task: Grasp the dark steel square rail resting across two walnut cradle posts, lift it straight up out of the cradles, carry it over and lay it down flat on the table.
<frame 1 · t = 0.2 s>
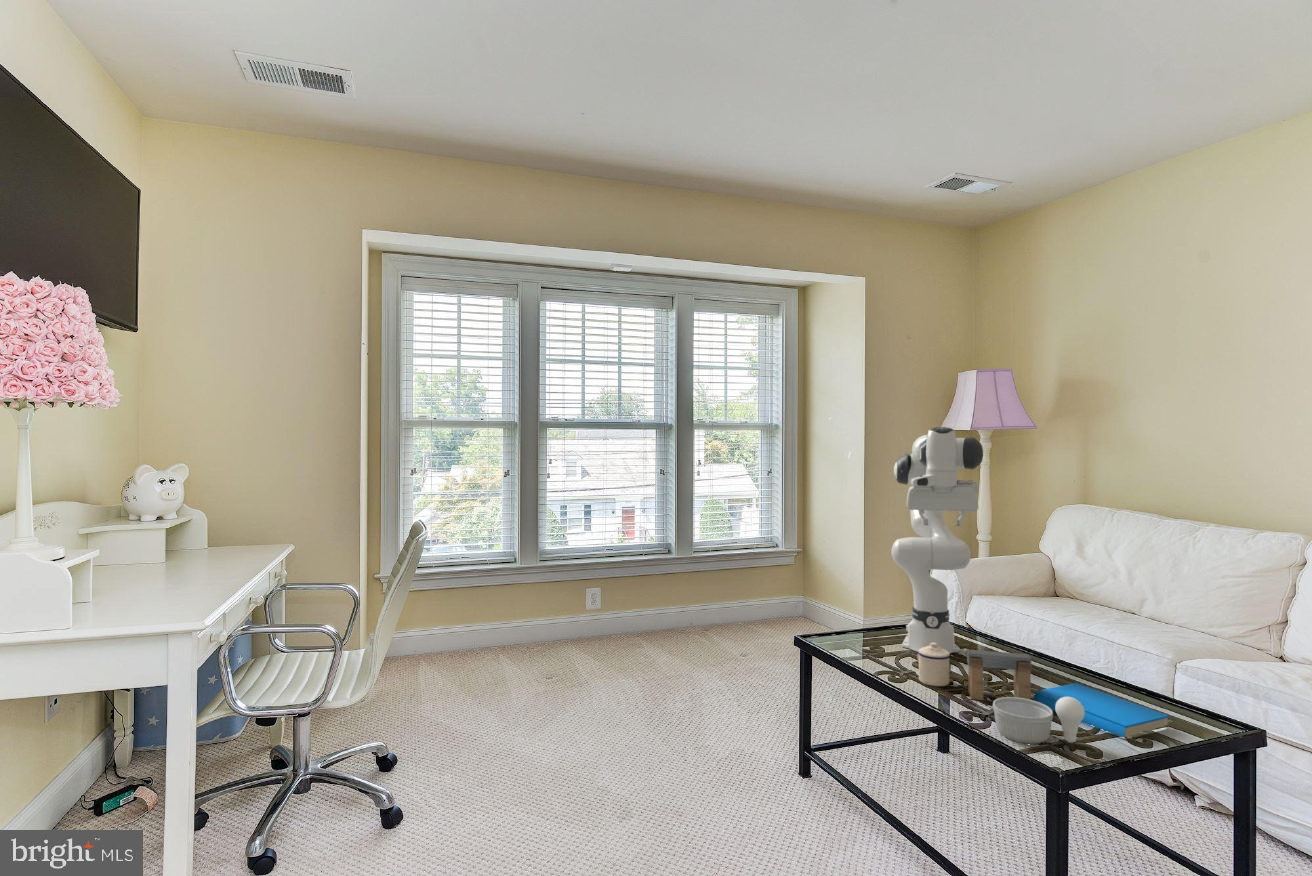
hand: (941, 525, 206), 47 cm above the table, tool pointing down, fingers open, 8 cm apart
ramekin: (1022, 735, 168), on the table
post a: (975, 695, 193), on the table
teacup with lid: (930, 680, 206), on the table
post b: (1022, 700, 190), on the table
book: (1098, 718, 179), on the table
lightbulb: (1069, 743, 163), on the table
rail: (998, 666, 191), point 9 cm above the table, touching post a, post b
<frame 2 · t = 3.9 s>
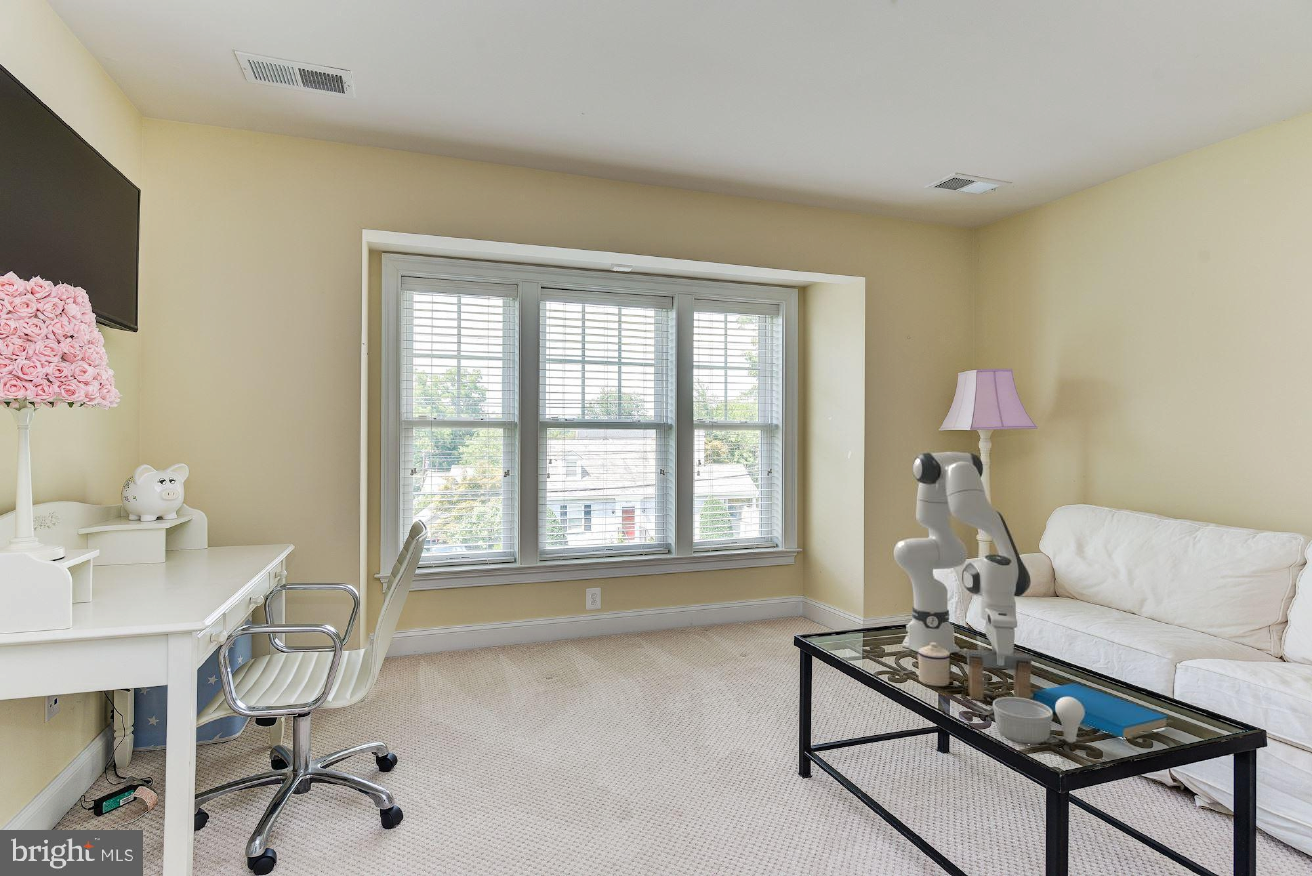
hand: (998, 661, 191), 10 cm above the table, tool pointing down, fingers closed on rail, 4 cm apart
rail: (998, 666, 192), point 9 cm above the table, touching gripper, post a, post b
everything else where it was.
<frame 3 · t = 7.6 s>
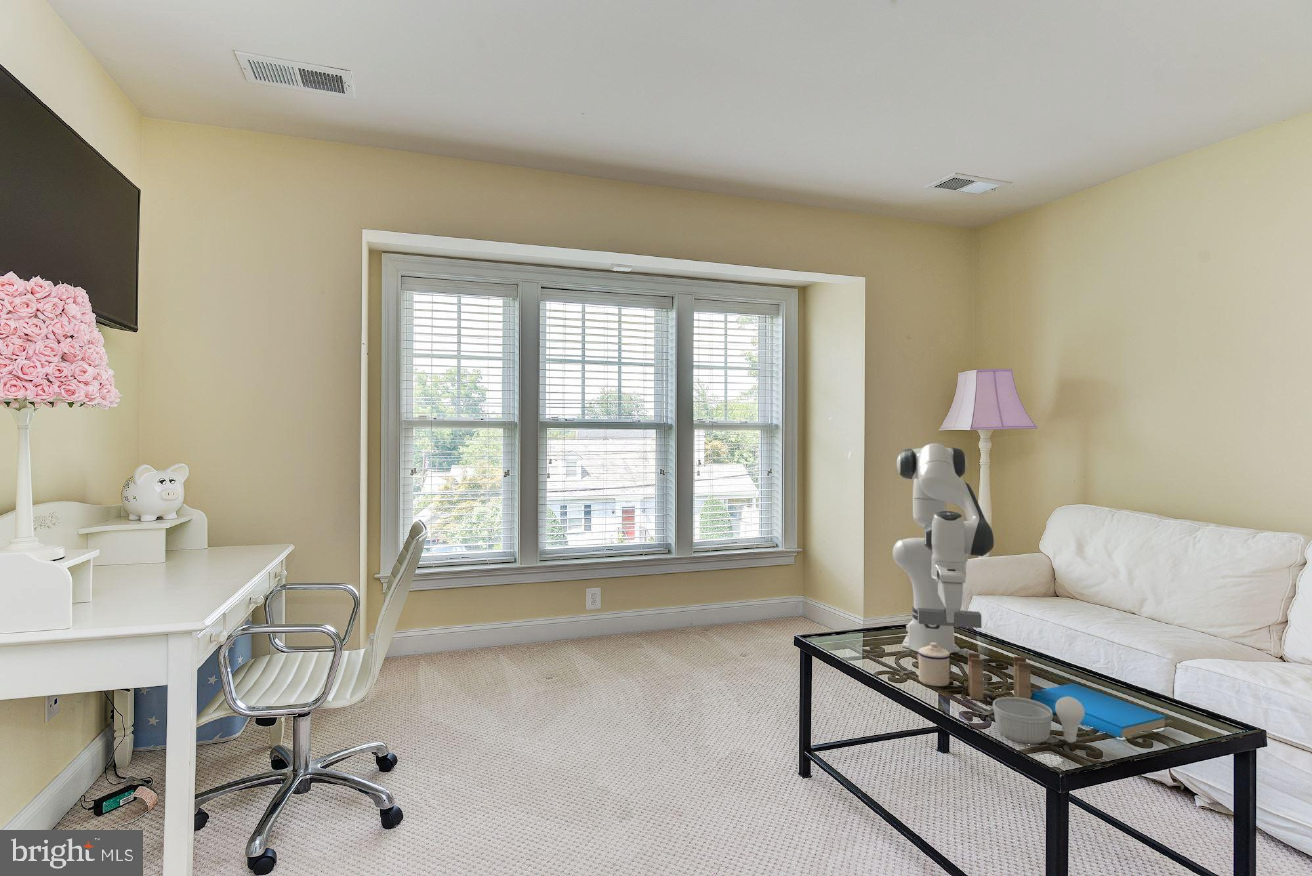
hand: (948, 619, 188), 23 cm above the table, tool pointing down, fingers closed on rail, 4 cm apart
rail: (948, 624, 188), point 22 cm above the table, touching gripper
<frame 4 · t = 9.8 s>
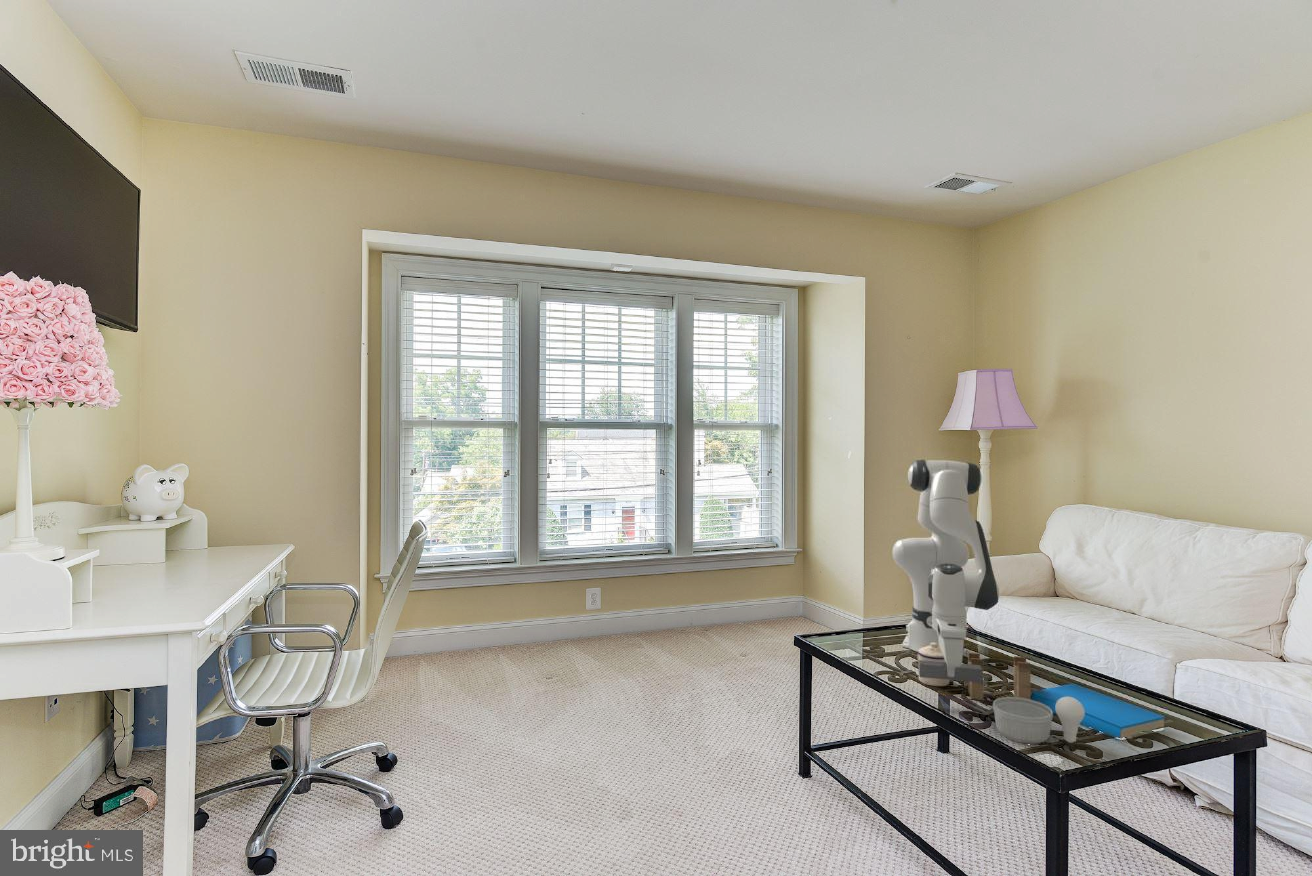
hand: (949, 673, 188), 8 cm above the table, tool pointing down, fingers closed on rail, 4 cm apart
rail: (949, 677, 188), point 7 cm above the table, touching gripper
when the fingers open (3 cm above the table, at t = 11.4 s): rail drops 2 cm, on the table.
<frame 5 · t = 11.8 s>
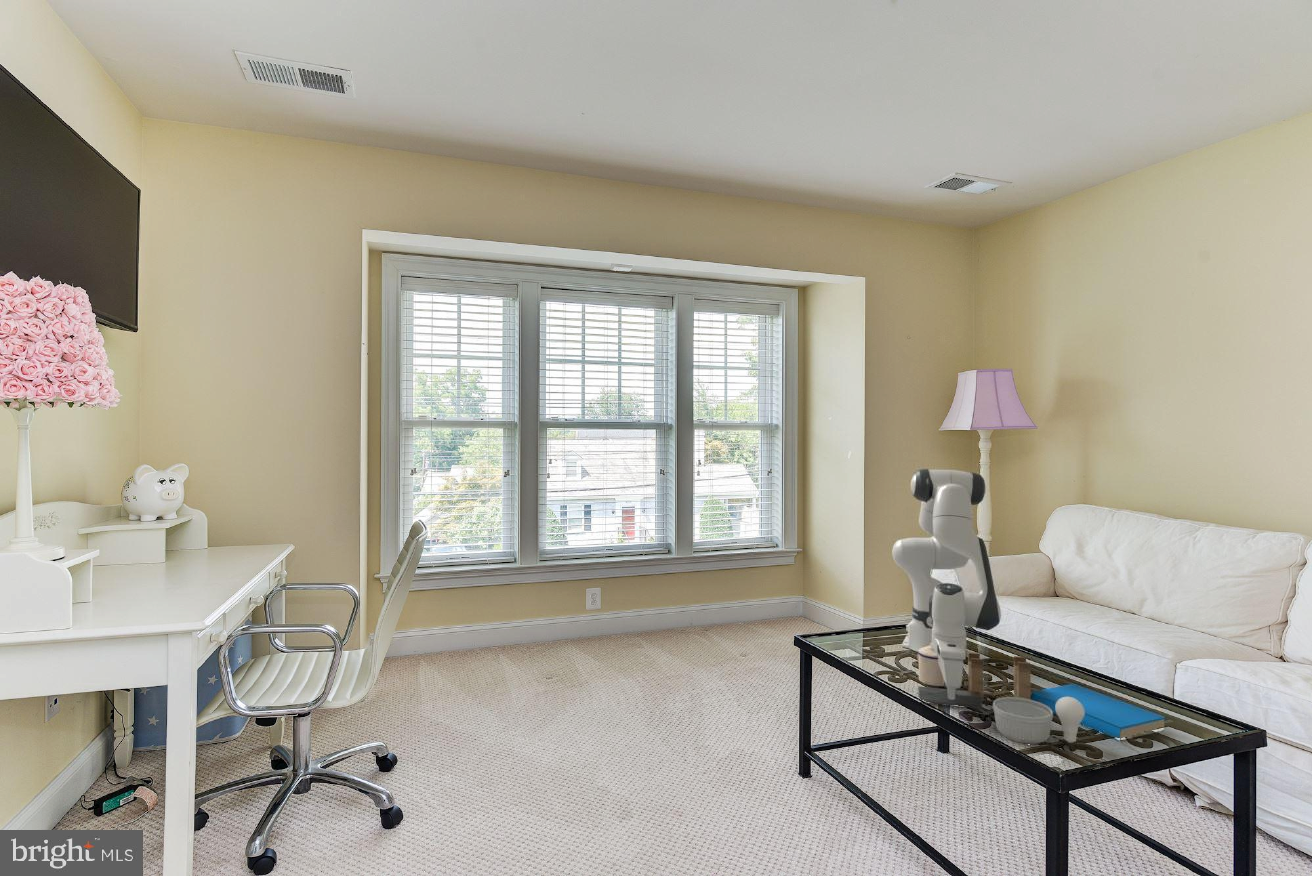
hand: (949, 692, 188), 3 cm above the table, tool pointing down, fingers open, 7 cm apart
rail: (949, 704, 188), on the table
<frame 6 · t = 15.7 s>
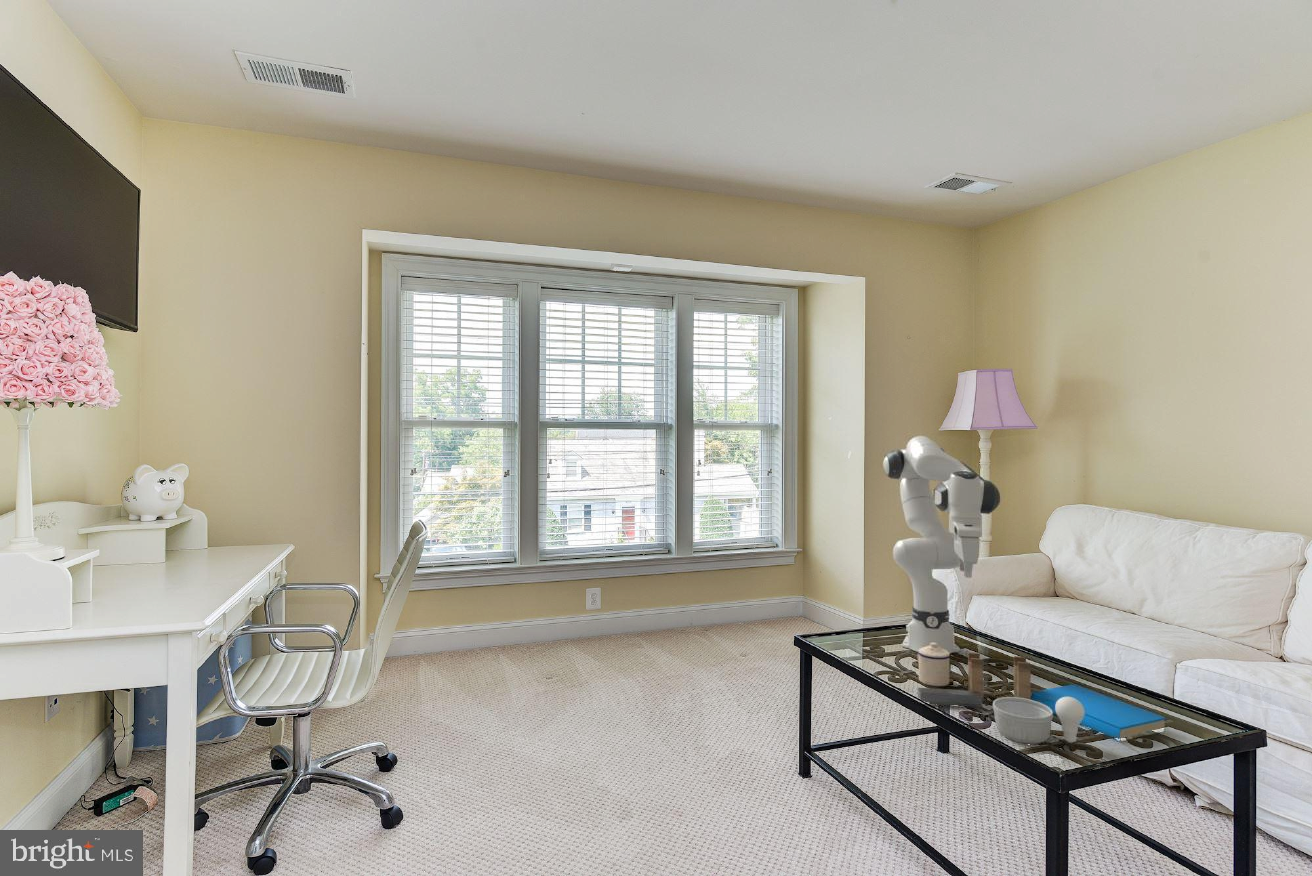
hand: (965, 574, 198), 34 cm above the table, tool pointing down, fingers open, 8 cm apart
at the end: rail inside the target area (0.6 cm from its centre), on the table; rail on the table; the gripper is holding nothing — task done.
